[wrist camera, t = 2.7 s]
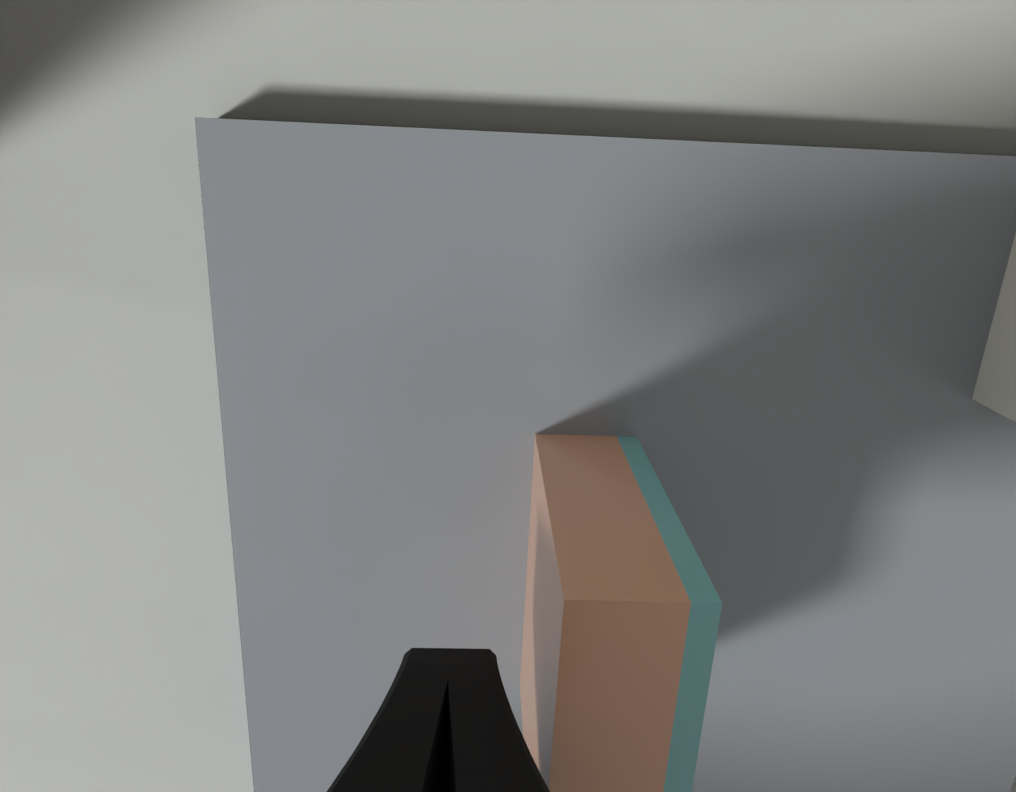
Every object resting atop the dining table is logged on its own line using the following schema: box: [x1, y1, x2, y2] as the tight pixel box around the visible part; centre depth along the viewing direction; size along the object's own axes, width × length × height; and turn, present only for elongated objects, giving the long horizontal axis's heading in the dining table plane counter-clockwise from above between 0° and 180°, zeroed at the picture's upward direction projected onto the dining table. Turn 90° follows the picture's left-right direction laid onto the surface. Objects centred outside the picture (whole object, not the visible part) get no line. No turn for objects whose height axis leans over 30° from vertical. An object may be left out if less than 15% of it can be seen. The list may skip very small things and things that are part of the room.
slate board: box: [195, 117, 1016, 792], centre depth 16 cm, size 15×18×1 cm
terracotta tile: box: [520, 434, 722, 792], centre depth 13 cm, size 6×2×6 cm, turn 177°
